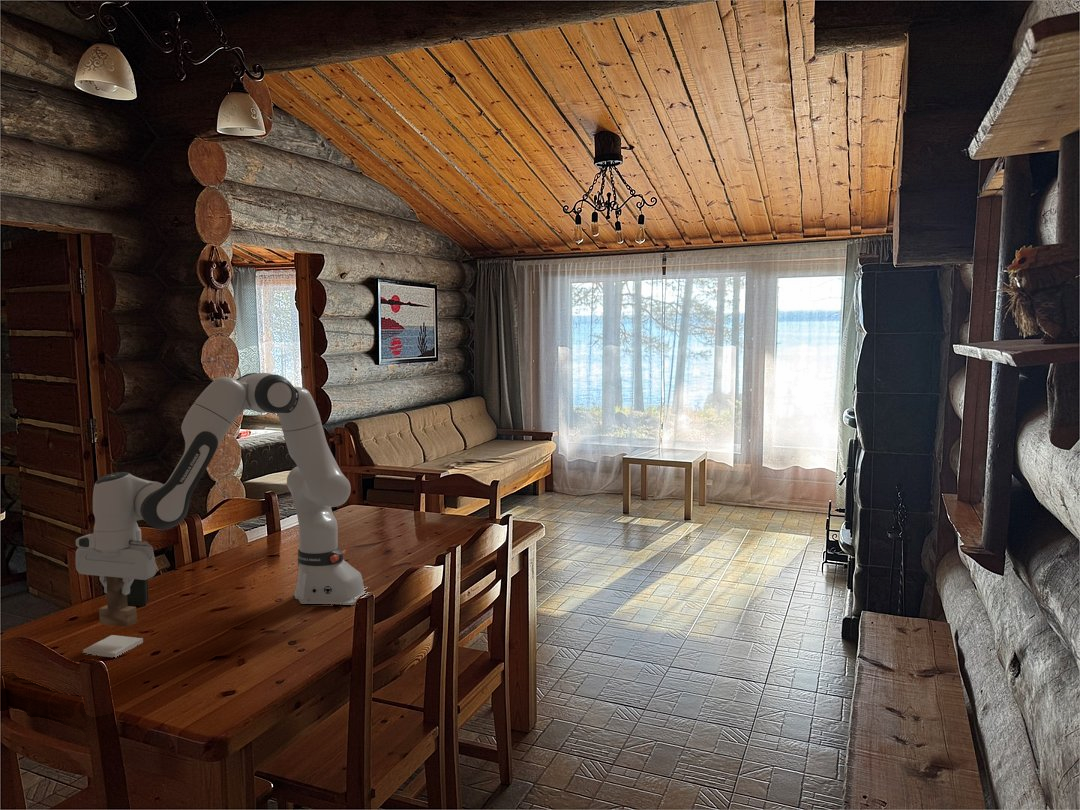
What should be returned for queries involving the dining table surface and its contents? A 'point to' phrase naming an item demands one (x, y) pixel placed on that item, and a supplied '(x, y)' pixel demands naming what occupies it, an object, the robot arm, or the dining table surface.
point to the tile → (113, 646)
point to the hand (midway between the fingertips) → (117, 593)
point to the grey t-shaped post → (117, 606)
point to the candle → (138, 584)
